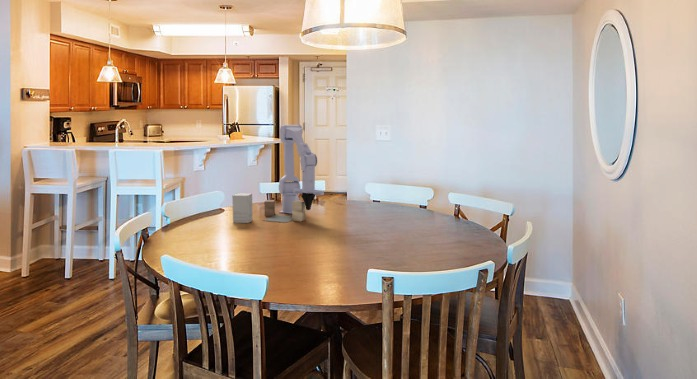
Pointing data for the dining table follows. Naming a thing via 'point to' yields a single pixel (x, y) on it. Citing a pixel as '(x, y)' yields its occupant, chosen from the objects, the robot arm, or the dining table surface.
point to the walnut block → (269, 207)
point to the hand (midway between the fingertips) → (308, 209)
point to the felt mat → (279, 218)
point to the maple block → (298, 211)
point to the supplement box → (242, 208)
